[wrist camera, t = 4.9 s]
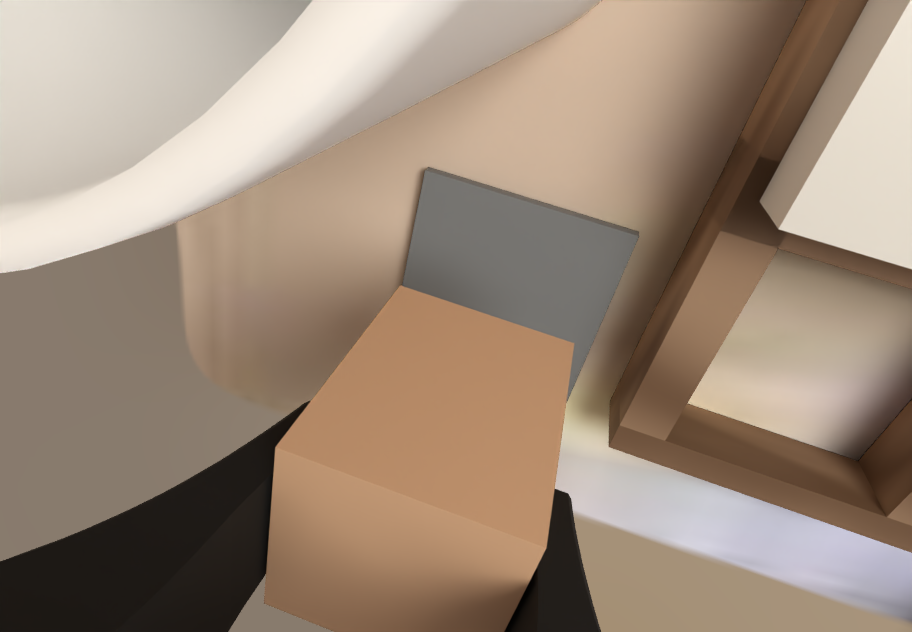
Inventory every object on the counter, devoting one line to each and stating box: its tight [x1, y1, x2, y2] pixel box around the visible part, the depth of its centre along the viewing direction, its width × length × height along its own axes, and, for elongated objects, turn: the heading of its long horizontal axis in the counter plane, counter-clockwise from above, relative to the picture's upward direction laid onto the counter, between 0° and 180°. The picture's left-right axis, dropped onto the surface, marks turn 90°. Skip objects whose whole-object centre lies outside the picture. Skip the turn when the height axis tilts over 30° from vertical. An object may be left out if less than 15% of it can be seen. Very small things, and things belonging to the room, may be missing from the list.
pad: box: [402, 167, 639, 403], centre depth 20 cm, size 7×7×1 cm
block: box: [264, 285, 574, 632], centre depth 12 cm, size 4×4×6 cm
